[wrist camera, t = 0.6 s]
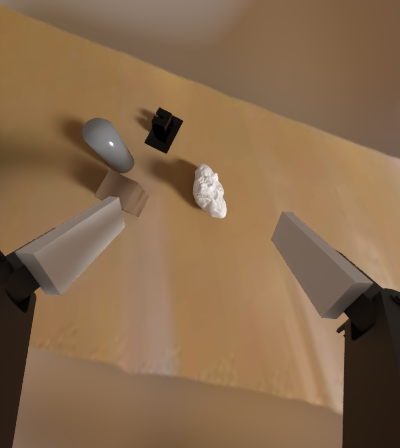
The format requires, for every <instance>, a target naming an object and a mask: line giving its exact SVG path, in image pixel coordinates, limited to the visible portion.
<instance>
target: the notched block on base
mask: <svg viewBox="0 0 400 448" xmlns="http://www.w3.org/2000/svg"><path fill="white" fill-rule="evenodd" d="M156 115H158V117H157V116H154V118H153V119H152V129H151V131H150V133H149V135H148V137H147V138H146V140H145V142H144V143H145V144H147V145H149V146H151V147H153V148H155V149H157V150H159V151H161V152H164V153H166V154H167V152H168V150H169V148H170V146H171V144H172V142H173V140H174V138H175V136H176V134H177V132H178V130H179V128H180V126H181V124H182V122H183V120H181V119H179V118H177V117H175V116H173V115H172V113H170V112H168V111H166V110H164V109H162V108H160V107H159V109H158V110H157V112H156Z"/></svg>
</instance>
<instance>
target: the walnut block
mask: <svg viewBox="0 0 400 448" xmlns="http://www.w3.org/2000/svg"><path fill="white" fill-rule="evenodd" d="M109 196H111V197H119V200H120V204H121V209H122V210H124V211H126V212H128V213H130V214H133V215H135V216H137V217H139V215H140V213H141V211H142V209H143V207H144V205H145V203H146V201H147V199H148V197H149V196H148V195H147V194H146V192H145V191H144V190H143V189H142V187H141V186H140V185H139V184H138V183H137V182H135V181H133V180H131V179H129V178H126V177H124V176H122V175H120V174H118V173H116V172H113V171H111V170H109V171H108V173H107V175H106V176H105V178H104V180H103V182H102V183H101V185H100V187H99V188H98V190H97V192H96V194H95V195H94V197H96V198H98V199H100V200H104V199H106V198H108V197H109Z"/></svg>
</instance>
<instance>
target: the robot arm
mask: <svg viewBox="0 0 400 448" xmlns="http://www.w3.org/2000/svg"><path fill="white" fill-rule="evenodd" d="M124 227H125V223H124V218H123V214H122V209H121V204H120V200H119V197H111V196H109V197H108V198H106V199H104V200H102V201H101V202H99V203H97V204H96V205H94V206H92V207H90V208H89V209H87V210H85V211H84V212H82V213H80V214H79V215H77V216H75V217H73V218H72V219H70V220H68V221H67V222H65V223H63V224H62V225H60V226H58V227H56V228H54V229H52V230H50V231H48V232H47V233H45V234H44V235H41V236H40V237H38V238H37V239H34V240H33V241H31V242H29V243H28V244H26V245H24V246H22V247H21V248H19V249H17V250H16V251H14V252H12V253H10V254H9V255H7V256H4V254H3V253H2V252H1V251H0V448H12V445H13V439H14V433H15V427H16V420H17V414H18V407H19V402H20V396H21V390H22V383H23V377H24V371H25V365H26V358H27V353H28V346H29V340H30V334H31V328H32V322H33V315H34V309H35V303H36V294H35V293H34V291H35V290H36V289H38V288H39V287H41V288H42V290H43V291H44V292H45V294H51V295H62V294H63V293H64V292H65V291H66V290H67V289H68V287H69V286H70V285H71V284H72V283H73V282H74V281H75V280H76V279H77V278H78V277H79V276H80V275H81V273H82V272H83V271H84V270H85V269H86V268H87V267H88V266H89V265H90V264H91V263H92V262H93V261H94V260H95V258H96V257H97V256H98V255H99V254H100V253H101V252H102V251H103V250H104V249H105V248H106V247H107V246H108V245H109V243H110V242H111V241H112V240H113V239H114V238H115V237H116V236H117V235H118V234H119V233H120V232H121V231H122V230H123V228H124ZM271 240H272V241H273V243H274V244H275V246H276V248H277V249H278V251H279V252H280V254H281V255H282V257H283V259H284V260H285V262H286V263H287V265H288V266H289V268H290V269H291V271H292V273H293V274H294V276H295V277H296V279H297V280H298V282H299V283H300V285H301V287H302V288H303V290H304V291H305V293H306V294H307V296H308V298H309V299H310V301H311V302H312V304H313V305H314V307H315V308H316V310H317V312H318V313H319V315H320V316H321V318H331V319H337V318H338V317H339V316H340V315H341V314H342V313H343V312H344V313H345V314H346V315H347V316H348V318H349V319H348V320H347V321H346V322H345V323H343V324H342V325H341V326H340V327H339V328H338V329H337V331H336V332H338V333H340V332H341V331H343V330H345V335H343V336H344V337H345V351H344V398H343V445H342V446H343V447H342V448H400V292H398V291H395V290H393V289H387V288H385V289H383V288H382V287H380V286H379V285H378V284H377V283H376V282H375V281H373V280H372V279H371V278H370V277H369V276H367V275H366V274H365V273H364V272H363V271H362V270H360V269H359V268H358V267H356V266H355V264H353V263H352V262H351V261H349V259H347V258H346V257H345V256H344V255H343V254H342V253H340V252H338V251H337V250H335V249H334V248H332V247H331V246H330V245H329V244H328V243H327V242H325V241H324V240H323V239H322V238H321V237H320V236H319V235H317V234H316V233H315V232H314V231H313V230H312V229H310V228H309V227H308V226H307V225H306V224H305V223H303V222H302V221H301V220H300V219H299V218H298V217H297V216H295V215H294V214H293V213H292V212H282V214H281V216H280V219H279V221H278V224H277V226H276V229H275V231H274V234H273V236H272V239H271Z"/></svg>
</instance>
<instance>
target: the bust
mask: <svg viewBox="0 0 400 448" xmlns="http://www.w3.org/2000/svg"><path fill="white" fill-rule="evenodd" d="M223 194H224V191H223V187H222V185H221V184H220V182H219V181H218V176H217V173H213V172H212V170H211V168H209V167H208V166H207V165H205V164H204V163H201V164H200V165H199V167H198V169H197V170H196V171H195V182H194V186H193V196H194V197H195V201H196V203H197V204H198V205H199V206H200V207H201V208H202V209H203V210H204V211H205V212H208V213H210V215H211V216H212V217H218V218H223V217H225V215H226V203H225V201H224V199H223Z"/></svg>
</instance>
